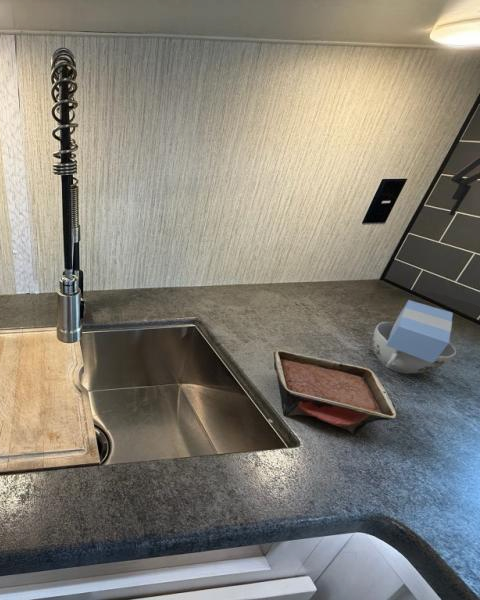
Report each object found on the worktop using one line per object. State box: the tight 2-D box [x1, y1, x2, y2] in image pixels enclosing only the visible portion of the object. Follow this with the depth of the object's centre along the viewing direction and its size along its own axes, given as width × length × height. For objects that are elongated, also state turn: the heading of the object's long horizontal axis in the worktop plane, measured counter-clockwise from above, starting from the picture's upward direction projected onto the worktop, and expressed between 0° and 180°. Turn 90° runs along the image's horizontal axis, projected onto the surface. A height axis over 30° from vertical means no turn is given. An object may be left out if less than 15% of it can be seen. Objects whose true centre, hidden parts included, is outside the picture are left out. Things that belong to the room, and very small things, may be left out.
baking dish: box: [273, 349, 398, 436], centre depth 59 cm, size 14×18×10 cm
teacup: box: [372, 321, 457, 375], centre depth 68 cm, size 15×12×8 cm
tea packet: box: [386, 299, 454, 363], centre depth 65 cm, size 15×7×5 cm, turn 132°
